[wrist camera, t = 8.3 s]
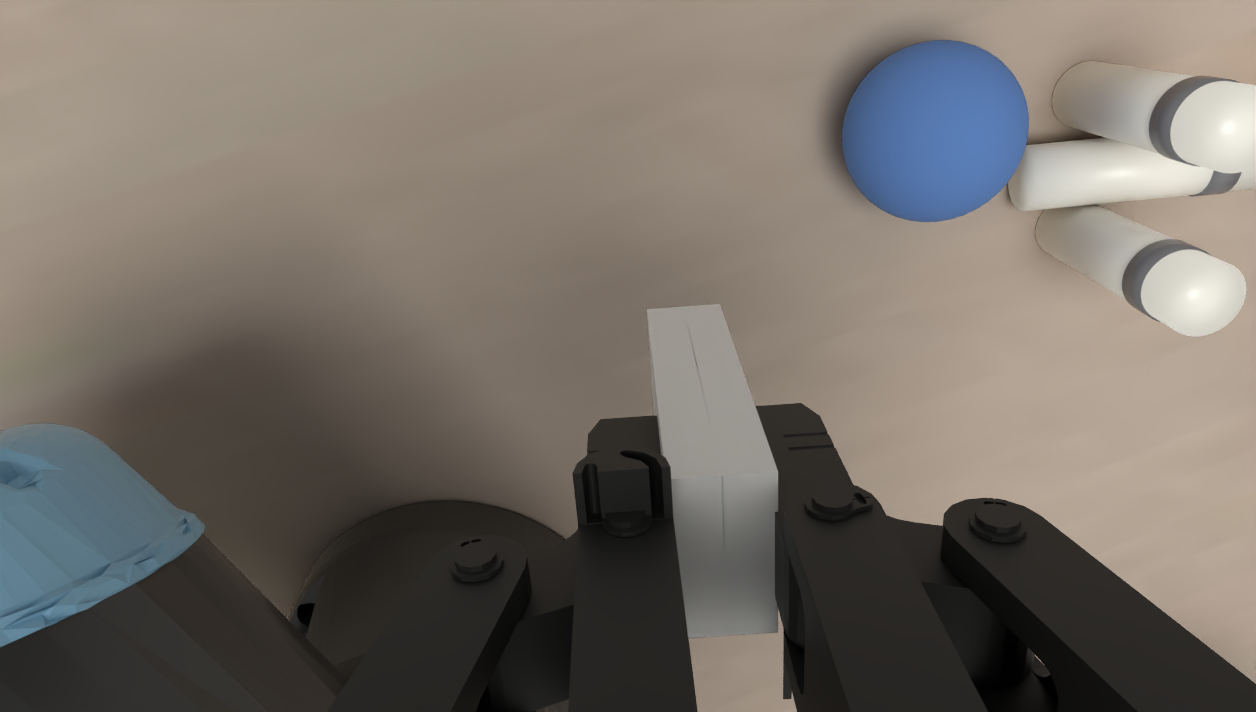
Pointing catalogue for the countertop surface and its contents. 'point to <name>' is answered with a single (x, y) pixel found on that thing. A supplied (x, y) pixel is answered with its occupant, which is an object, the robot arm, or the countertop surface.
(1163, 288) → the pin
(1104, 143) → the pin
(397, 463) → the countertop surface
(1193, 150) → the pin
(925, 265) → the countertop surface
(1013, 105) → the ball
